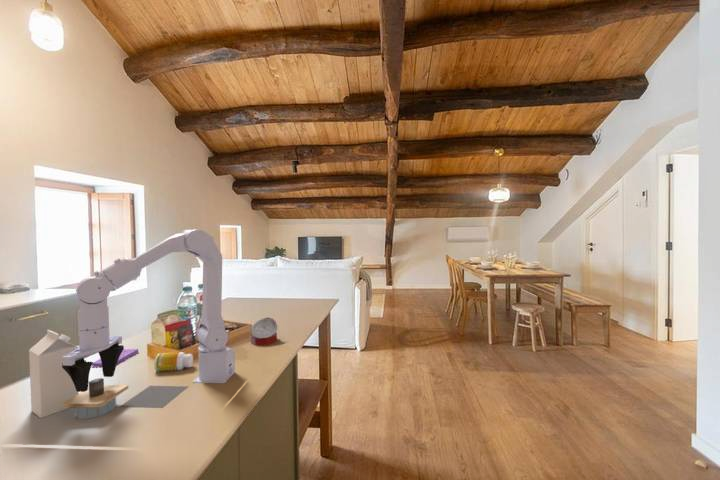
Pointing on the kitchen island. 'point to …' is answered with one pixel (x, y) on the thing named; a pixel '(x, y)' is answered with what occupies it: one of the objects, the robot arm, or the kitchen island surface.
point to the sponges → (124, 355)
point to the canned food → (264, 332)
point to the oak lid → (95, 395)
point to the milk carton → (50, 374)
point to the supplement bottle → (172, 361)
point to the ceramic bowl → (95, 410)
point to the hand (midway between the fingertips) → (96, 383)
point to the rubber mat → (155, 396)
